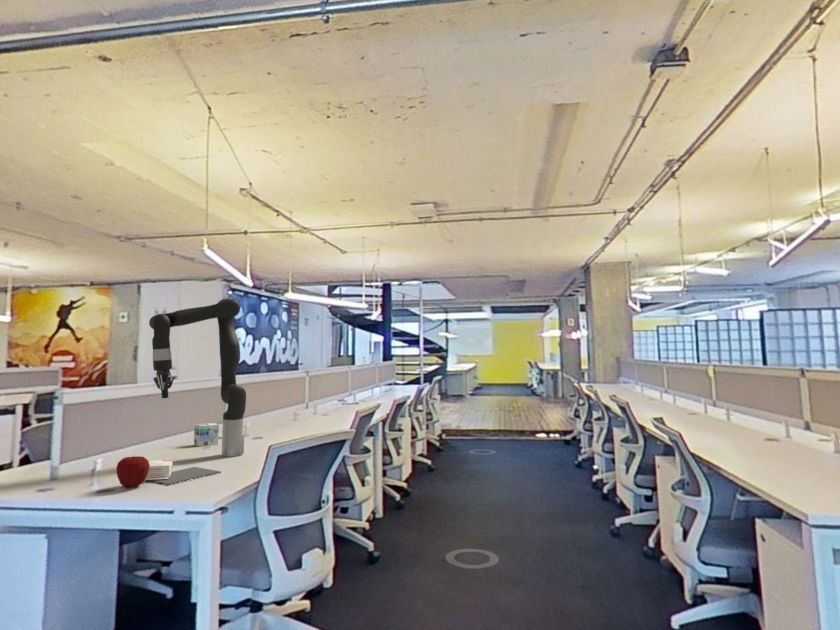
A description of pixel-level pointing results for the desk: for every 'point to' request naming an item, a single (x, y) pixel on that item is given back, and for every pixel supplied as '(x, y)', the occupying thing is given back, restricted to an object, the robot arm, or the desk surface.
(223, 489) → the desk surface
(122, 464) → the apple
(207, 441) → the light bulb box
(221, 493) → the desk surface
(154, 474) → the ink cartridge box
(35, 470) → the desk surface
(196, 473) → the rubber mat
